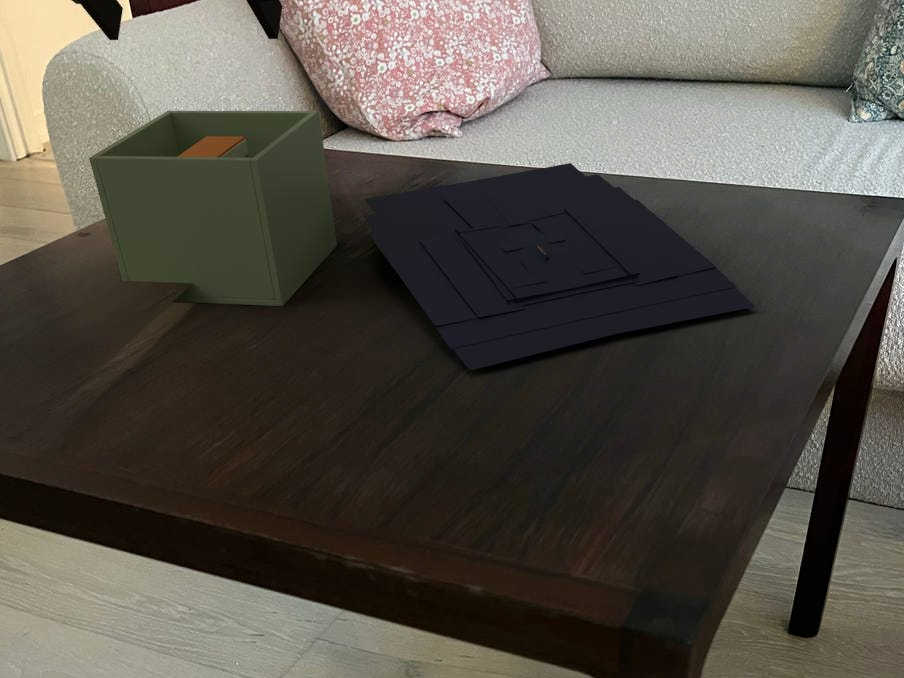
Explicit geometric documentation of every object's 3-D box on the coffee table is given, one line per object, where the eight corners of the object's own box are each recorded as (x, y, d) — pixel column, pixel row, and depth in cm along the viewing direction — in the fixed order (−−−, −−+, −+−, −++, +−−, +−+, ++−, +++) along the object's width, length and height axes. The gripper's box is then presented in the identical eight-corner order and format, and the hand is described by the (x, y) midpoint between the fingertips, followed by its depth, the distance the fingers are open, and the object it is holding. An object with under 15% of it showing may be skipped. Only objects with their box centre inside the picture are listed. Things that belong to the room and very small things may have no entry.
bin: (127, 300, 90) (88, 157, 82) (196, 241, 100) (167, 110, 93) (282, 306, 87) (257, 159, 80) (337, 245, 98) (318, 110, 90)
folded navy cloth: (586, 188, 102) (589, 150, 100) (752, 337, 83) (761, 294, 80) (347, 232, 96) (343, 192, 94) (466, 404, 77) (466, 360, 74)
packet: (202, 278, 91) (175, 156, 85) (230, 253, 96) (206, 135, 90) (241, 279, 91) (216, 157, 84) (266, 254, 95) (245, 136, 89)
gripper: (-158, -148, 64) (45, 68, 85) (221, -166, 59) (338, 68, 80) (-139, -262, 65) (59, -19, 85) (239, -289, 60) (351, -25, 81)
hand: (195, 23), depth 83 cm, fingers open, 13 cm apart
